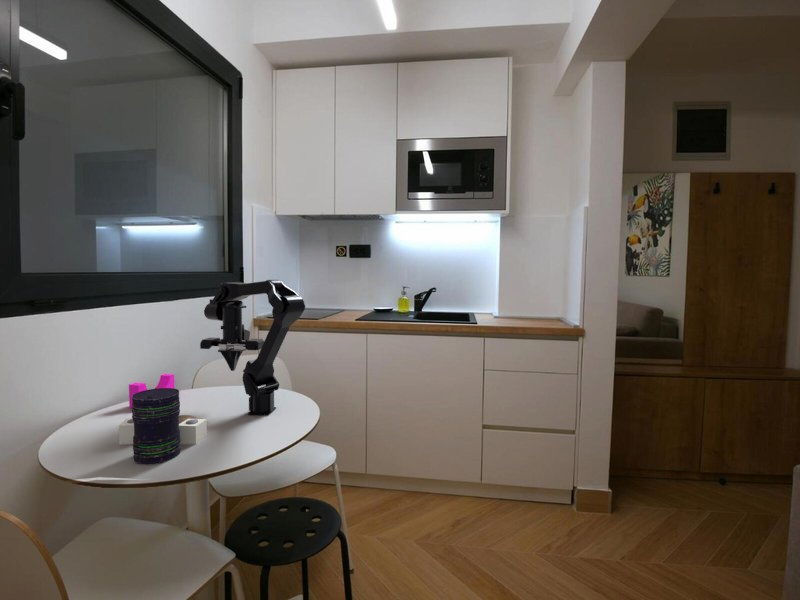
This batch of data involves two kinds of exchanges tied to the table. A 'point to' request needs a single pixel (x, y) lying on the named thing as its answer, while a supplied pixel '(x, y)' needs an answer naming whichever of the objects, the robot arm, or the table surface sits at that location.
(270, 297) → the robot arm
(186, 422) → the marked cube
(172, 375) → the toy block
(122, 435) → the marked cube
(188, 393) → the table surface
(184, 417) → the beige rounded disc
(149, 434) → the storage jar
